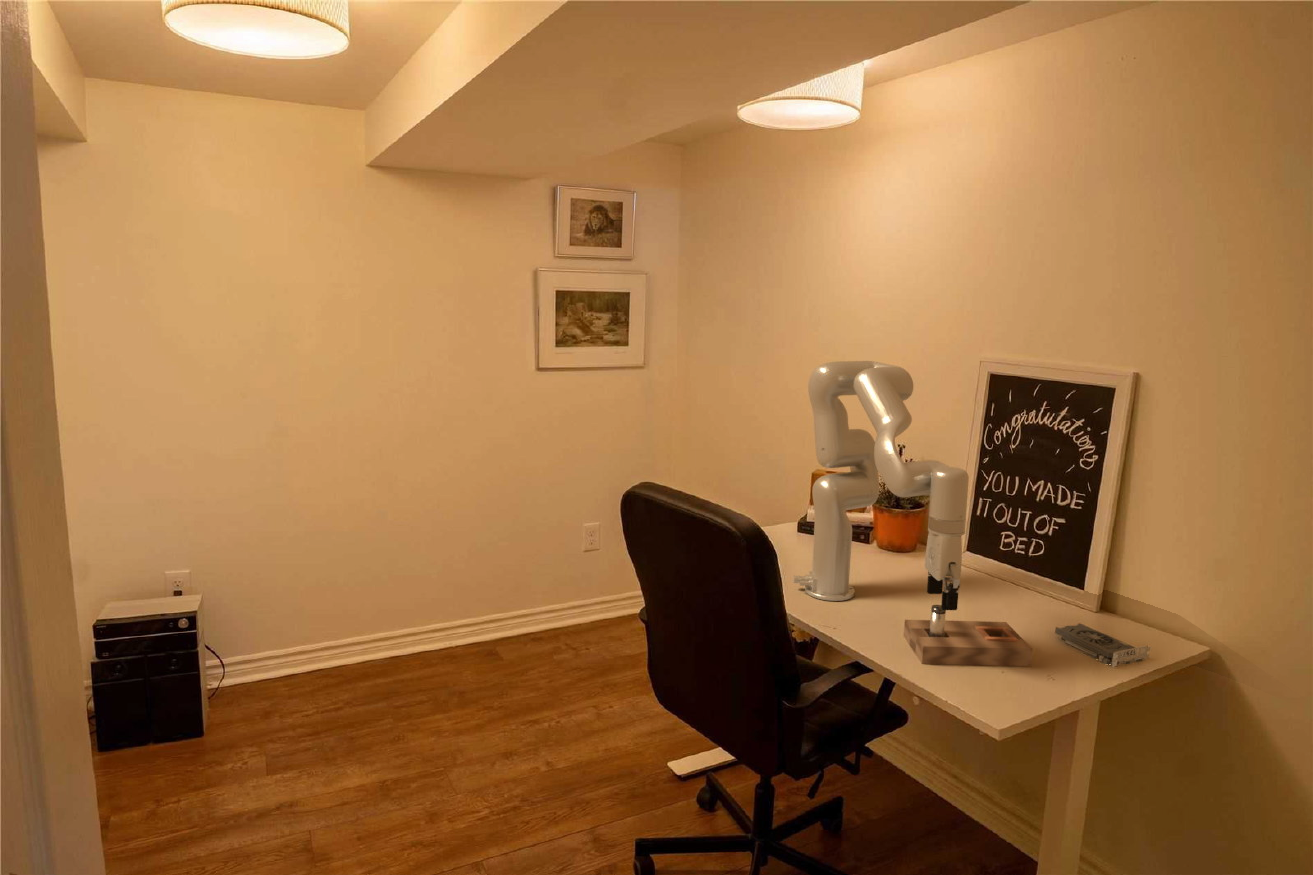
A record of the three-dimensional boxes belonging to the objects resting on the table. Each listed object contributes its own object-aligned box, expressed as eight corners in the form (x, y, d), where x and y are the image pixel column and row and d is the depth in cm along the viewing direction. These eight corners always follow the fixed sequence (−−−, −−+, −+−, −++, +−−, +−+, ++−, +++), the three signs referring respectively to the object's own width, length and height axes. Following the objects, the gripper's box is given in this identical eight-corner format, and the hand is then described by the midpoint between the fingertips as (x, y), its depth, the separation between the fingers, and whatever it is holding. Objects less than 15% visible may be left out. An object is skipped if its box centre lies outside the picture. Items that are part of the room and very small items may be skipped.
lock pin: (930, 652, 181) (934, 609, 179) (926, 646, 184) (929, 604, 182) (944, 653, 181) (948, 610, 179) (939, 647, 184) (943, 604, 182)
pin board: (921, 663, 176) (923, 644, 175) (903, 636, 189) (904, 617, 188) (1030, 666, 175) (1032, 647, 174) (1004, 638, 189) (1006, 620, 188)
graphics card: (1155, 647, 179) (1116, 654, 174) (1153, 663, 180) (1114, 671, 175) (1088, 618, 194) (1051, 624, 190) (1086, 633, 195) (1049, 640, 190)
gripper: (917, 514, 185) (912, 587, 188) (942, 536, 168) (936, 616, 171) (950, 515, 185) (945, 588, 188) (979, 536, 168) (973, 616, 171)
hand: (941, 601), depth 180 cm, fingers open, 9 cm apart
